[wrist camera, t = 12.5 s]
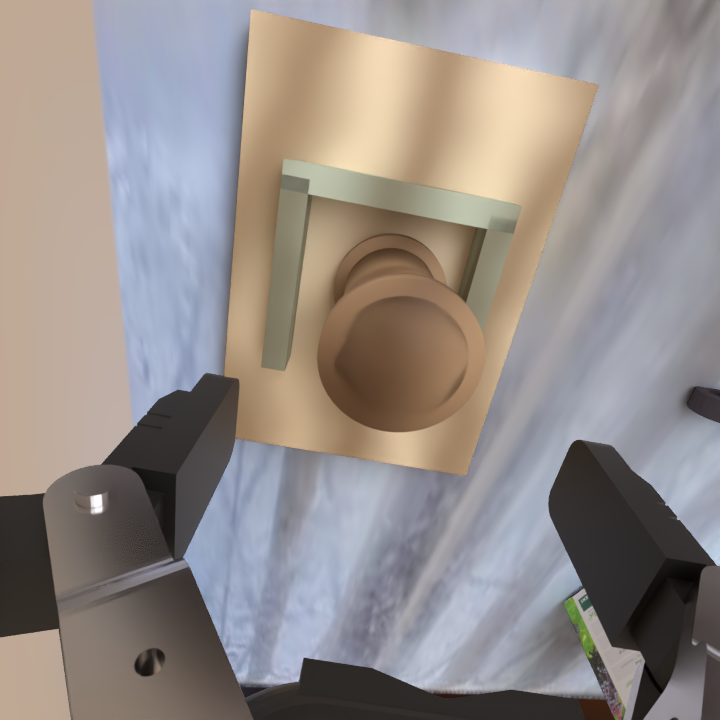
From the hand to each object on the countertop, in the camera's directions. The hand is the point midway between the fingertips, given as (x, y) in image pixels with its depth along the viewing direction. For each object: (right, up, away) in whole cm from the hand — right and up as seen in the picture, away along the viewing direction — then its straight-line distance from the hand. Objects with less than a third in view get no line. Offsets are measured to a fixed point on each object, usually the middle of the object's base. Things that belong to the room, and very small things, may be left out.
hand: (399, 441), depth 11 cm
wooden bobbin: (+1, +6, +13) cm, 14 cm away
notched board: (0, +6, +14) cm, 15 cm away
